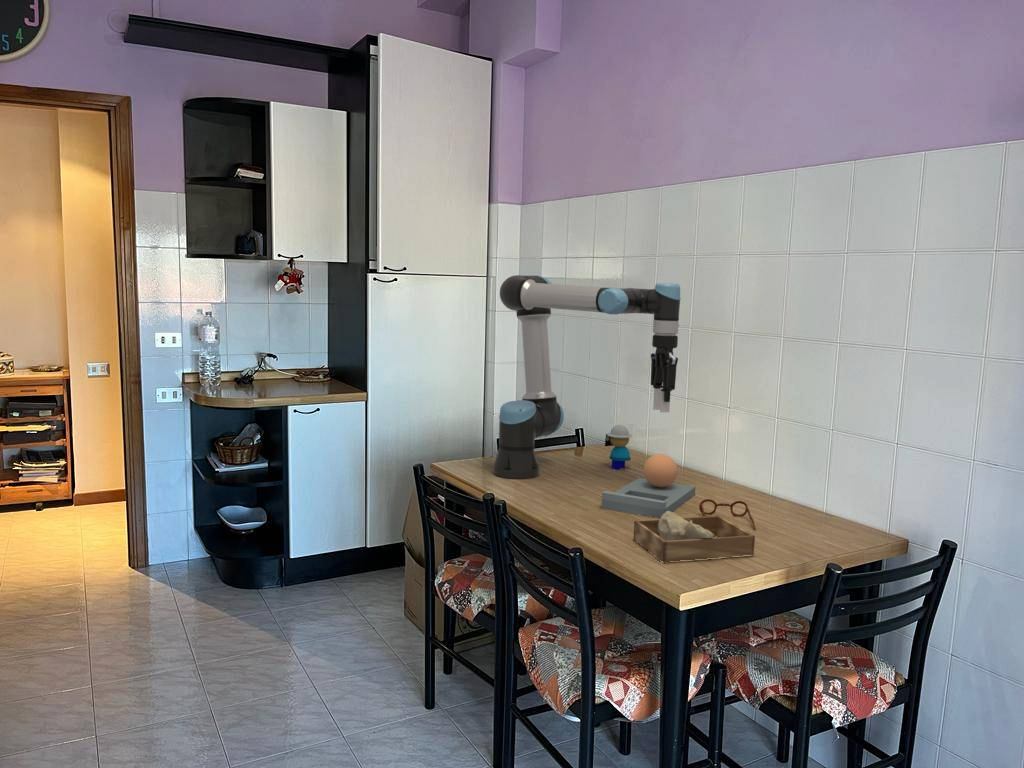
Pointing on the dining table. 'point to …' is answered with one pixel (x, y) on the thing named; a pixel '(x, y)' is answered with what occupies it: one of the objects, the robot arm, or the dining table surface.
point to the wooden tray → (696, 540)
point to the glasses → (726, 505)
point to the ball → (660, 470)
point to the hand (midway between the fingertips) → (661, 410)
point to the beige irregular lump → (680, 528)
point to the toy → (618, 446)
